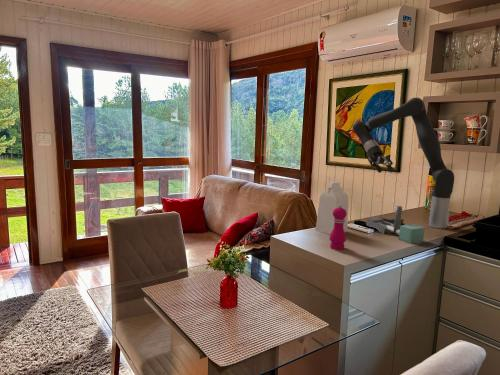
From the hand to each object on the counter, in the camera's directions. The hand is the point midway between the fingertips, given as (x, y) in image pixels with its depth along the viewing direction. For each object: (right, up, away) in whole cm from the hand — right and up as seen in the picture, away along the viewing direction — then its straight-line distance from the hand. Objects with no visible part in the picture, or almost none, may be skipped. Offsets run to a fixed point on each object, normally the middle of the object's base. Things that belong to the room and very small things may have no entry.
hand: (386, 171), depth 201 cm
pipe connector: (+5, -31, +2) cm, 32 cm away
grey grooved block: (-5, -32, -3) cm, 32 cm away
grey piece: (+1, -33, -15) cm, 36 cm away
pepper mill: (-36, -36, -35) cm, 62 cm away
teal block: (+4, -35, -21) cm, 41 cm away
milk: (-32, -32, -8) cm, 46 cm away
